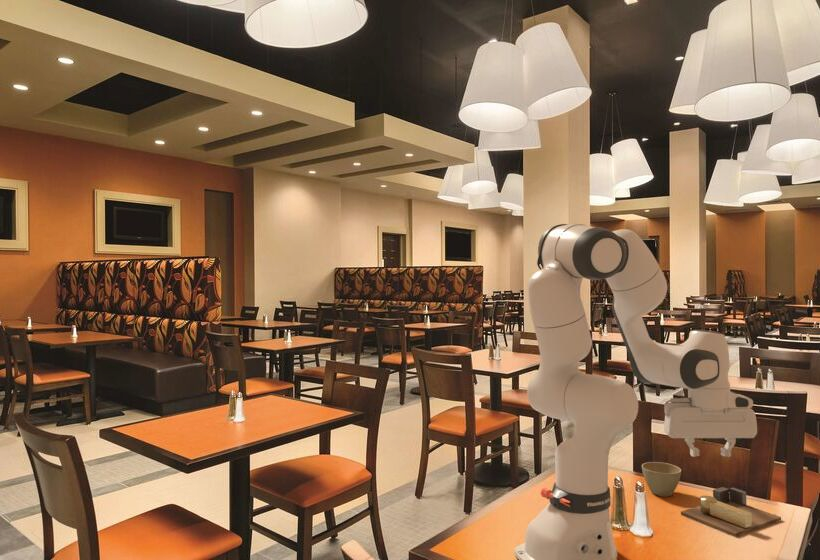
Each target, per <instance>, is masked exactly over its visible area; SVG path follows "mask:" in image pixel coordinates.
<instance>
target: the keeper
mask: <svg viewBox="0 0 820 560" xmlns="http://www.w3.org/2000/svg"><path fill="white" fill-rule="evenodd" d="M712 497H714V498H716V500H717V501H720V502H722V503H725V504H726V503H729V502H732V503H735V504H738V505H741V506H745V505H747V491H744V490H742V489H739V488H736V487H731V488H727V487H723V486H722V487H718V488H714V489H713V490H712Z"/></svg>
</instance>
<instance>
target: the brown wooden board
mask: <svg viewBox="0 0 820 560" xmlns="http://www.w3.org/2000/svg"><path fill="white" fill-rule="evenodd" d="M726 504H728V505H731V506H733V507H736V508H739V509H742V510H745V511H747V512H750V513H751V514H752V526H750V527H747V528H744V527H741V526H739V525H736V524H733V523H731V522H728V521H726V520H723V519H720V518H718V517H715V516H713V515H710V514H705V513H703V512H701V511H700V505H698V506H695V507H691V508H689V509H685V510H681V511H680V516H683V517H686V518H688V519H691V520H693V521H696V522H698V523H700V524H703V525H704V526H707V527H710V528H713V529H715V530H718V531H720V532H723V533H725V534H728V535H730V536H731V537H739V536H741V535H745V534H747V533H750V532H753V531H756V530H758V529H760V528H765V527H767V526H769V525H772V524H775V523H778V522H780V521H779V520H781V521H782V517H781V516H779V515H776V514H773V513H770V512H769V511H765V510H762V509H759V508H756V507H753V506H751V505H748V504H746V505H745V506H741V505H738V504H735V503H732V502H729V503H726ZM777 521H778V522H777Z"/></svg>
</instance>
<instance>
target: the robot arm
mask: <svg viewBox="0 0 820 560" xmlns="http://www.w3.org/2000/svg"><path fill="white" fill-rule="evenodd" d="M537 249H538V250H537V261H536V265H537V267H538V270H537V271H535V272H534V273H533V274H532V275H531V276H530V277H529V279H528V282H527V296H528V298H527V299H528V306H529V312H530V317H531V321H532V325H533V328H534V329H533V330H534V332H535V336H536V340H537V345H538V349H539V359H540V362H539V368H538V370H537V372H535V373H534V374H533V376H532V377H530V380H529V382H528V385H527V389H526V392H527V393H526V394H527V396H526V397H527V400H528V403H529V405H530V406H531V408H532V409H533V410H534V411H537V412H538V413H540V414H542V415H545V416H547V417H549V418H552V419H556V420H561V421H565V422H569V423H573V425H574V431H573V435H572V437H570V438H567V439H565V440H564V441H562V442H561V443H560V444H559V445H558V446H557V447H556V449H555V452H554V456H555V457H554V461H555V462H554V463H555V464H554V466H555V467H554V469H555V470H554V472H555V481H554V483H553V487H552V489H548V488H547V487H542V488H541V490H540V492H539V493H540V496H541V497H543V498H546V500H549V502H548V503H547V504H546V506H545V507H543V509H542V510H541V511H540V512H539V513H538V514H537V516H535V517H534V518H533V519H532V521H530V522H529V523H528V525H527V526H526V527H527V528H526V531H525V538H524V542H523V543H521V544H519V545H517V546H515V547H514V550H513V551H515V553H514V555H516V556H517V557H516V556H515V557H516V559H517V558H518V559H519V560H618V559H617V558H618V550H617V548H616V544H615V539H614V534H613V527H612V522H611V515H610V507H611V499H612V497H611V489H610V487H609V485H608V484H609V479H608V477H609V473H608V471H609V455H610V452H611V451H610V450H611V447H612V445H613V443H614V441H615V438H616V437H617V436H618V435H619V434H620V433H621V432H622V431H624V430H625V429H627V428H628V427H630V426H631V425H632V424H633V423H634V422H635V420H636V418H637V416H638V412H639V399H638V395H637V393H636V392H635V390H634V388H633V387H632V386H631V384H628V383H627V382H624V381H621V380H618V379H616V378H614V377H609V376H605V375H597V374H591V373H589V374H588V373H584V372H582V371H581V370H580V367H579V362H580V361H582V360H583V359H585V358H586V357H587V356H588V355H589V354H590V352H591V349H592V346H593V339H592V336H591V331H590V328H589V324H588V319H587V315H586V312H585V308H584V305H583V301H582V298H581V285H582V282H583V279H587V280H590V281H591V280H592V281H598V280H599V281H601V280H606V282H607V285H608V286H609V288H610V289H611V292H612V294H613V299H612V303H611V309H612V313H613V317H614V320H615V323H616V326H617V329H618V330H619V333H620V335H621V338H622V341H623V343H624V345H625V348H626V351H627V354H628V358H629V359H628V360H629V365H630V369H631V372H632V373H633V375H634V376H635V378H636V379H637V380H638V381H640V382H641V383H644V384H650V385H651V384H652V385H663V386H668V387H675V388H681V389H686V390H687V397H680V398H679V397H678V398H676V397H672V398H670V399H668V400H666V401H665V403H664V405H663V406H664V408H663V409H664V424H663V431H664V433H665V434H666V435H667V436H668V437H669V438H671V439H684V442H685V443H686V445H687V446H688V448H689V454H690V456H691V457H692V458H693V457H694V458H695V457H696V458H699V457H700V454H701V453H700V449H699V448H698V447H695V445H694V443H695V439H724V440H725V441H726V443H725V444H724V447H720V455H721V456H722V457H725V458H727V457H728V458H729V457H731V456H732V452H731V451H732V449H733V447H734V446H735V444H736V442H737V439H754V438H755V437H756V436H757V434H758V423H757V422H758V421H757V416H756V413H755V411H754V410H753V407H754V406H753V405H754V401H753V399H752V398H750V397H748V396H745V395H743V394H740V393H737V392H735V391H731V384H730V381H729V372H730V366H731V365H730V354H729V347H728V341H727V338H726V336H725V335H724V334H723V333H721V332H719V331H716V330H715V331H714V330H708V329H707V330H706V329H693V330H690V331H689V334H688V338H687V339H686V340H685V341H683V342H682V343H680V344H679V345H674V344H665V343H660V342H657V341H655V340H654V339H652V338H651V337H650V335H649V332H648V330H647V327H646V324H645V321H644V319H643V316H645V315H647V314H649V313H650V312H652V311H654V310H655V309H657V308H658V306H660V305H661V303H663V301H664V299H665V298H666V295H667V291H668V283H667V279H666V277H665V274H664V272H663V270H662V268H661V267H660V265H659V263H658V261H657V259H656V258H655V256H654V254H653V252H652V251H651V250H650V248H649V247H648V246H647V244H646V243H645V241H643V240H642V238H641V237H640V236H639V235H638V234H637V233H636V232H635V231H633V230H631V229H627V228H626V229H625V228H621V229H616V230H613V231H612V230H609V229H608V228H607V229H606V228H605V227H604V228H603V227H597V226H590V225H586V224H582V223H573V224H572V223H571V224H569V223H567V224H566V223H561V224H557V225H554V226H551V227H550V228H548V229H546V230H545V231H544V232H543V234H541V236H540V239H539V242H538V247H537ZM518 559H517V560H518Z"/></svg>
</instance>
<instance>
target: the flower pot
mask: <svg viewBox="0 0 820 560" xmlns="http://www.w3.org/2000/svg"><path fill="white" fill-rule="evenodd" d="M641 470H642V475H643V477H644V481H645V482H646V485H647V487H648V489H649V490H650V492H651V493H652V494H653V495H655V496H659V497H671V496H672V495H673V493H674V492H675V491H676V489H677V487H678V485H679V482H680V479H681V475H682V469H681V467H679V466H678V465H674V464H671V463H667V462H659V461H657V462H656V461H648V462H645V463H642V464H641Z"/></svg>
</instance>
